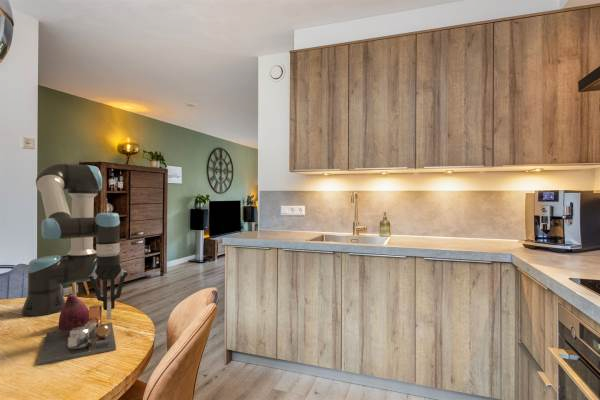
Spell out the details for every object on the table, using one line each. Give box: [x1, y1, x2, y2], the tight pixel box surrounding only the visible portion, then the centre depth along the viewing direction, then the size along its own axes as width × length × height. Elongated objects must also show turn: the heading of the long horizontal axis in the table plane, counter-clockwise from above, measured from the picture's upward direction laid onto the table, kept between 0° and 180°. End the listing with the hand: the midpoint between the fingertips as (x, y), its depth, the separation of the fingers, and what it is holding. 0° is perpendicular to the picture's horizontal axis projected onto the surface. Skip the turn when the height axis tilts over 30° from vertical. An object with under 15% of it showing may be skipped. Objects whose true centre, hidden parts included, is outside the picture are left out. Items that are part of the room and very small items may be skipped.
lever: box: [68, 304, 103, 347], centre depth 114 cm, size 22×5×7 cm, turn 13°
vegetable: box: [57, 292, 89, 331], centre depth 129 cm, size 10×10×15 cm
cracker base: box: [37, 322, 117, 366], centre depth 115 cm, size 25×20×7 cm
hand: (109, 318), depth 126 cm, fingers closed
